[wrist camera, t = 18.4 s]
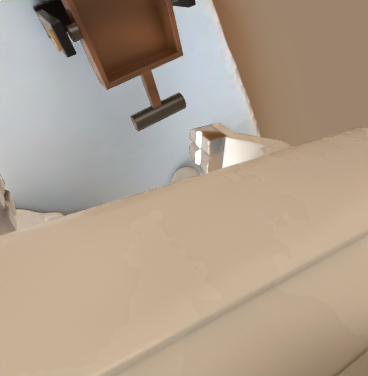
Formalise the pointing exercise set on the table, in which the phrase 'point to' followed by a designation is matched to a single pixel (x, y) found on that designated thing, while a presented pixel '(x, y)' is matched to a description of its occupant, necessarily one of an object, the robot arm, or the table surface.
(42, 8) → the stand
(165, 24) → the brown tilting tray
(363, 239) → the robot arm
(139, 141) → the table surface
